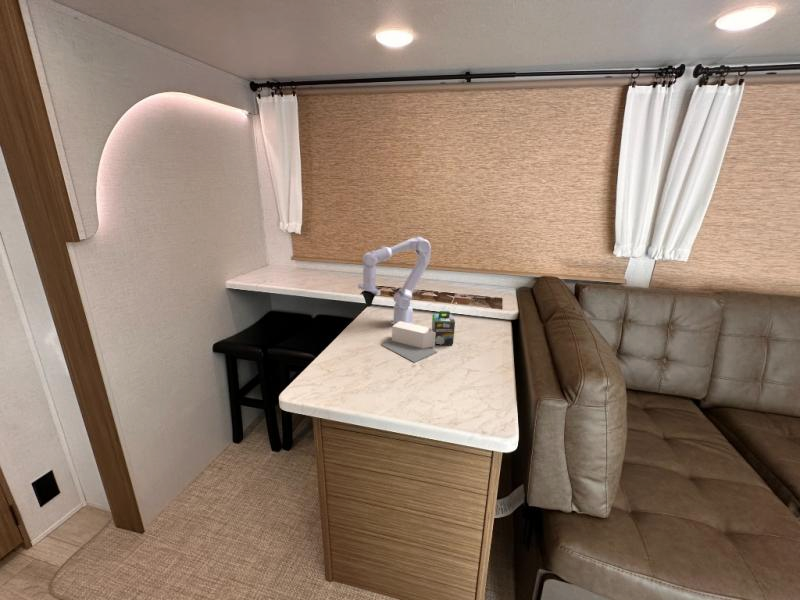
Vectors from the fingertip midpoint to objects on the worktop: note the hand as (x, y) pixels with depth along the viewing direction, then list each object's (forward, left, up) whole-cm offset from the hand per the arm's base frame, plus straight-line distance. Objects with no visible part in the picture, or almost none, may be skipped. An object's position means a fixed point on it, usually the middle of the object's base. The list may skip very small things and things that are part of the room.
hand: (368, 305), depth 169 cm
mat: (+2, +30, -10) cm, 32 cm away
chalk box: (-15, +34, -11) cm, 39 cm away
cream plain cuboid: (0, +19, -6) cm, 20 cm away
